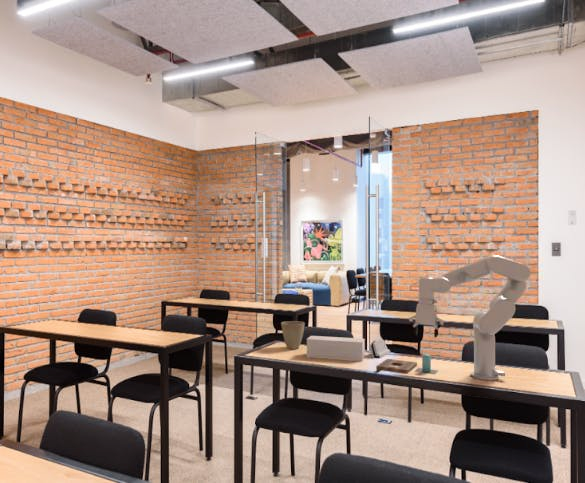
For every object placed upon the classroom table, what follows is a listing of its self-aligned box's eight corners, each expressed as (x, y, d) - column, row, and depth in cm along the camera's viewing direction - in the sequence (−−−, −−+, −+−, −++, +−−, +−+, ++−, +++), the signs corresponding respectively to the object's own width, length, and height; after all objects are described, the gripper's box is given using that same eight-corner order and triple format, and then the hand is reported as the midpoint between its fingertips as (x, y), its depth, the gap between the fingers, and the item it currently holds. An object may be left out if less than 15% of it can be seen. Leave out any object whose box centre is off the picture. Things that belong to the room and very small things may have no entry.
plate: (438, 373, 229) (438, 370, 229) (434, 377, 222) (434, 374, 222) (418, 370, 233) (418, 367, 233) (414, 374, 226) (414, 371, 226)
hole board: (416, 368, 239) (416, 362, 239) (407, 376, 223) (407, 369, 223) (387, 364, 247) (387, 358, 247) (376, 371, 231) (376, 365, 231)
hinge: (380, 358, 260) (374, 341, 262) (373, 360, 263) (367, 343, 265) (390, 352, 274) (385, 336, 276) (383, 354, 277) (378, 338, 279)
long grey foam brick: (306, 357, 262) (306, 338, 262) (310, 353, 272) (311, 335, 272) (362, 361, 253) (362, 342, 253) (364, 357, 263) (364, 338, 264)
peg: (431, 370, 228) (431, 354, 228) (429, 372, 225) (429, 356, 225) (423, 369, 230) (423, 353, 230) (421, 371, 227) (421, 355, 227)
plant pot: (304, 345, 293) (304, 320, 294) (305, 350, 278) (305, 324, 279) (281, 345, 293) (281, 320, 293) (280, 350, 278) (281, 324, 279)
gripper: (445, 302, 227) (445, 336, 227) (411, 300, 236) (410, 333, 235) (442, 303, 221) (442, 339, 220) (407, 301, 229) (406, 335, 229)
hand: (425, 336), depth 228 cm, fingers open, 9 cm apart
